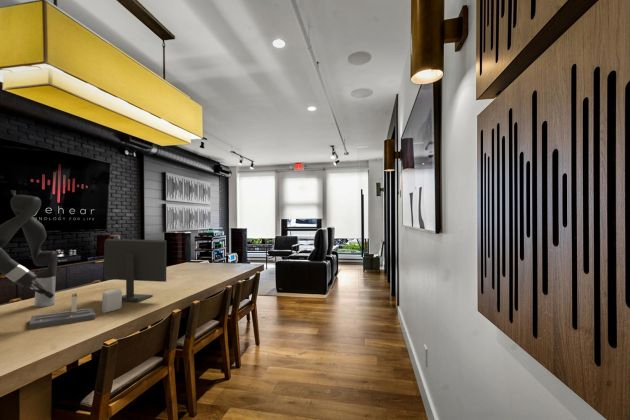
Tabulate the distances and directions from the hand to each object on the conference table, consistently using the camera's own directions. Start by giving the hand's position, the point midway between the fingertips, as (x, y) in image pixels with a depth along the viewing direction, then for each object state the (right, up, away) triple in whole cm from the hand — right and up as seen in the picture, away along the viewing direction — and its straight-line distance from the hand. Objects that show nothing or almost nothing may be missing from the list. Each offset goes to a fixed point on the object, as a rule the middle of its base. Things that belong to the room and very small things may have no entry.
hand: (52, 296), depth 160 cm
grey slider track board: (+4, -13, +3) cm, 14 cm away
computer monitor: (+14, -15, +47) cm, 52 cm away
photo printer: (+17, -14, +21) cm, 31 cm away
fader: (+7, -11, +5) cm, 14 cm away
